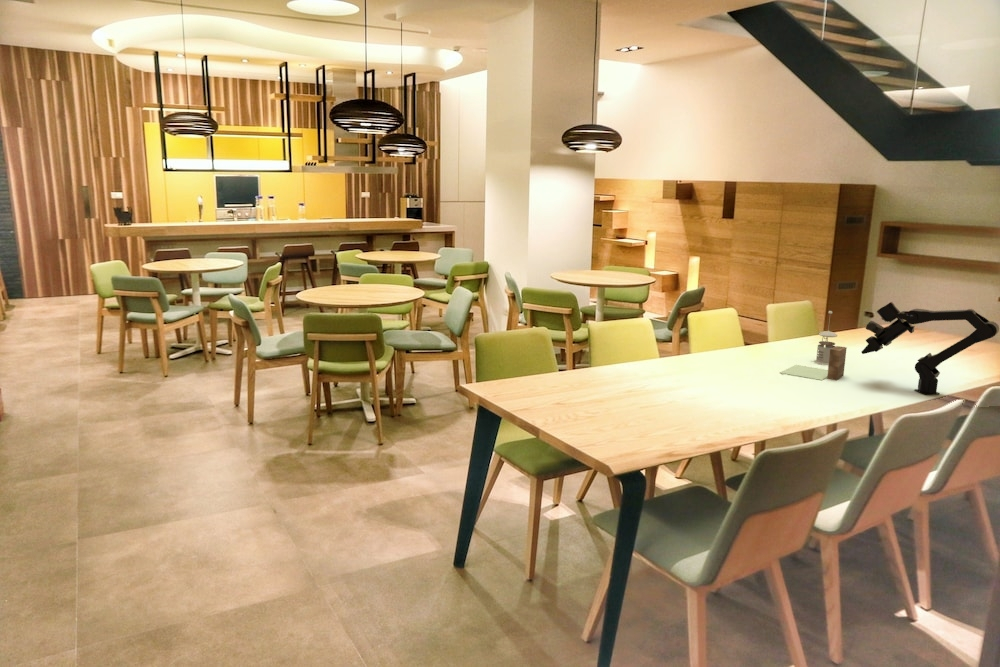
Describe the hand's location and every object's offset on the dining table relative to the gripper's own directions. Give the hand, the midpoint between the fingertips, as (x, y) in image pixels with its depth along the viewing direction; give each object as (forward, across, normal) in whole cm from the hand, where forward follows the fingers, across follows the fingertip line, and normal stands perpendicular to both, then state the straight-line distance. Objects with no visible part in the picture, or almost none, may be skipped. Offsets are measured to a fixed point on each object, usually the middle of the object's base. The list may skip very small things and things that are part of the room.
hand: (862, 353), depth 295 cm
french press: (+25, -25, -7) cm, 36 cm away
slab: (+16, 0, +2) cm, 16 cm away
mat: (+24, 0, -6) cm, 24 cm away
